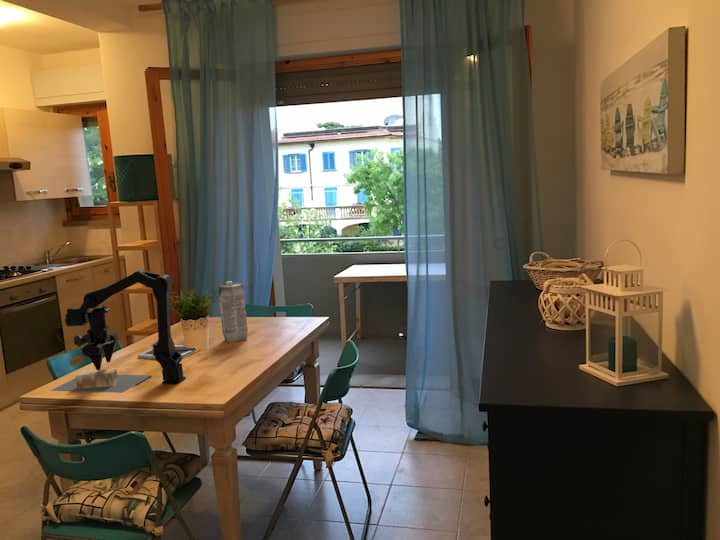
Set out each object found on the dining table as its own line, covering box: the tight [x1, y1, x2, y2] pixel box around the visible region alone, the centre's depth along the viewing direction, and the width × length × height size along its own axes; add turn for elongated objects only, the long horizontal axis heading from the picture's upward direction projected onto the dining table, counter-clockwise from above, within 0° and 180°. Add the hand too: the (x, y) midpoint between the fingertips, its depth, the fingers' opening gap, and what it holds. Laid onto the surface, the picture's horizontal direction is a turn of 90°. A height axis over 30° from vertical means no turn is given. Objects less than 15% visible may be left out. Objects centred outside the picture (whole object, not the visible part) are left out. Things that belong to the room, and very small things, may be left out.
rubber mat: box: [50, 374, 153, 394], centre depth 223 cm, size 30×18×1 cm, turn 76°
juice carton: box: [217, 280, 248, 343], centre depth 272 cm, size 9×10×27 cm
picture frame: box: [137, 344, 196, 360], centre depth 257 cm, size 16×3×21 cm
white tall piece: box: [74, 368, 118, 389], centre depth 220 cm, size 5×5×13 cm
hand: (103, 366), depth 220 cm, fingers open, 9 cm apart
